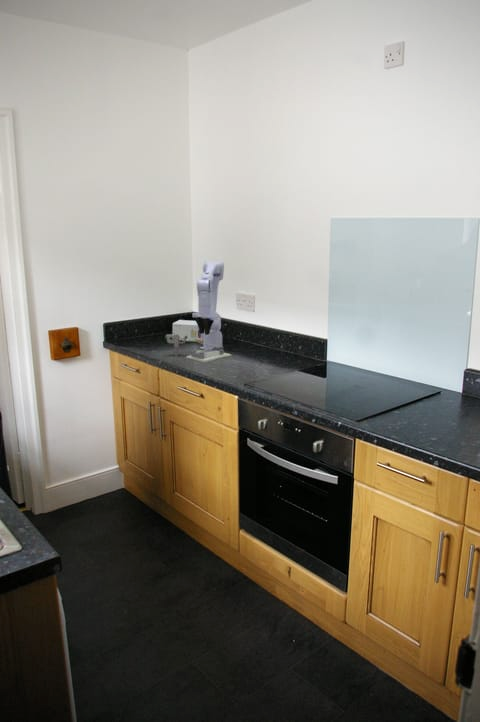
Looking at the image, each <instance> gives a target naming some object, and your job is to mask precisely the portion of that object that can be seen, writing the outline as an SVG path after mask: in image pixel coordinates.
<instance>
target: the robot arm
mask: <svg viewBox="0 0 480 722" xmlns="http://www.w3.org/2000/svg"><path fill="white" fill-rule="evenodd" d="M202 264H203V265H202V271H203V273H202V275H201V277H200V279H199V280H197V283H196V290H197V291H196V292H197V297H198V298H197V299H198V301H197V302H198V306H197V307H198V312H192V318H196V319H195V320H194V321H196V323H197V325H198V327H199V331H200V334H202V333H203V341H204V342H206V343H209V344H213V345H216V346H219V347H222V349H224V346H223V334H222V332H221V328H222V317H221V314H219V313H218V312H217V303H218V302H217V301H218V293H219V291H218V289H219V286H220V285H219V284H220V282H221V281H222V280H223V279H224V271H225V266H224V265H225V264H224V262H223V261H206V260H205V261H204V262H203V263H202ZM202 345H203V346H200V347H199V349H201V350H205V349H212V348H214V347H212V346H208V345H205V344H202Z"/></svg>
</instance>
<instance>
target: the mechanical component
mask: <svg viewBox="0 0 480 722" xmlns="http://www.w3.org/2000/svg"><path fill="white" fill-rule="evenodd" d="M164 335H165V336H164V339H166V342H167V344H173V347H174V356H175V357H178V356H179V347H180V344H185V343H186V342H187V341H186V339H187V336H186V335H184V337H183V338H180V336H179V335H178V334H173V333H171V334H170V333H169V334H168V333H167V334H164ZM181 340H184V341H181Z"/></svg>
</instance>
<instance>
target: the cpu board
mask: <svg viewBox="0 0 480 722" xmlns="http://www.w3.org/2000/svg"><path fill="white" fill-rule="evenodd" d="M190 352H191V353H190V355H187V356H186V359H189V360H193V361H198V362H202V363H207V362H211V361H215V360H220V359H225V358H230V357H232V354H230V353H226V352H225V350H224V348H222V349H219V348H212V349H201V350H194V349H193V350H191V351H190Z"/></svg>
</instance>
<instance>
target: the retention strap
mask: <svg viewBox="0 0 480 722" xmlns="http://www.w3.org/2000/svg"><path fill="white" fill-rule="evenodd" d="M194 342H196V343H198V344H201V345H203V344H205V345H208V346H212V347H214V348H219V349H223V348H222V347H223V346H222V347H219V346H216V345H213V344H209V343H206V342H204V341H201V340H196V341H194Z"/></svg>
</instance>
